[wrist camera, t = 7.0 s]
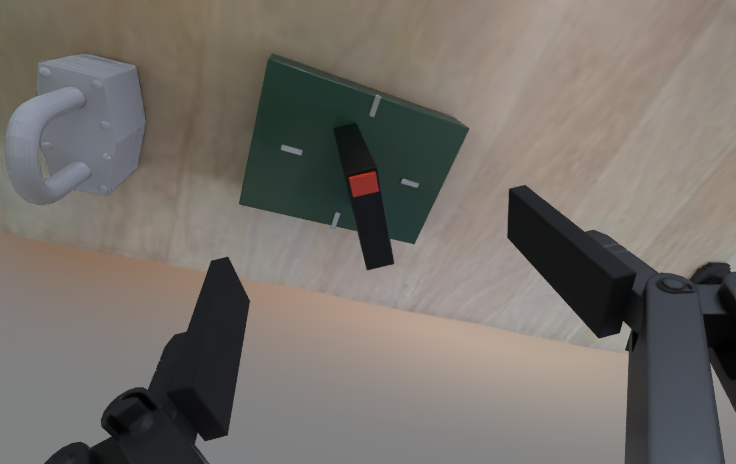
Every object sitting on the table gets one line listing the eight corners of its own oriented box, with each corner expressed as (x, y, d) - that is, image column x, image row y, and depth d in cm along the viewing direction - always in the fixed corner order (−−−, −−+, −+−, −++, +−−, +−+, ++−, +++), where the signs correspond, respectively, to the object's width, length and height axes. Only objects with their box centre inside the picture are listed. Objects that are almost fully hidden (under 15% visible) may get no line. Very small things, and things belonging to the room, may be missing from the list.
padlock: (74, 48, 22) (-63, 72, 14) (147, 67, 23) (61, 100, 15) (83, 157, 26) (-24, 229, 17) (147, 169, 27) (76, 243, 18)
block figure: (759, 276, 40) (727, 314, 43) (738, 263, 42) (708, 300, 45) (717, 275, 39) (687, 313, 42) (697, 262, 41) (669, 300, 44)
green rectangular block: (244, 188, 29) (238, 206, 26) (272, 51, 24) (268, 56, 21) (405, 227, 33) (414, 246, 30) (455, 116, 28) (471, 127, 26)
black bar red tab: (371, 201, 27) (395, 266, 20) (351, 206, 27) (367, 273, 20) (356, 122, 24) (378, 168, 17) (332, 128, 24) (345, 175, 17)
